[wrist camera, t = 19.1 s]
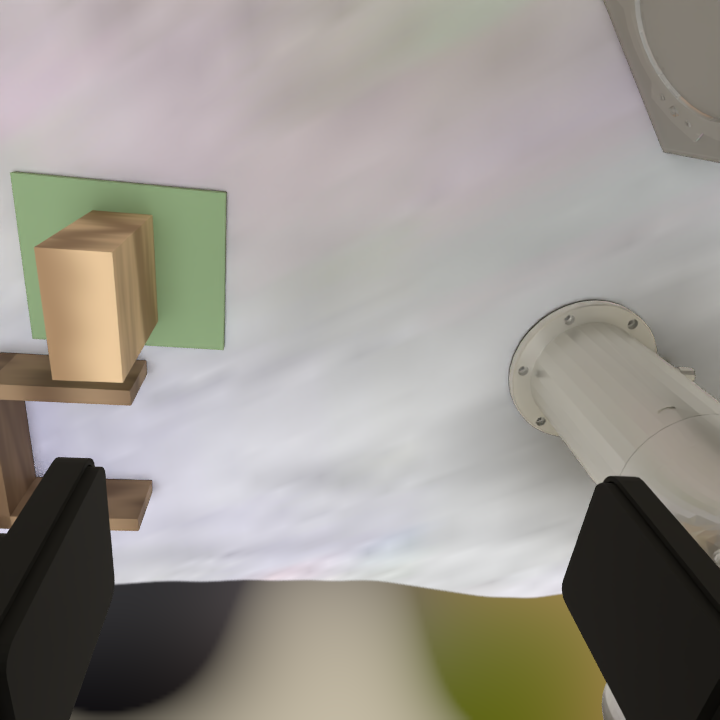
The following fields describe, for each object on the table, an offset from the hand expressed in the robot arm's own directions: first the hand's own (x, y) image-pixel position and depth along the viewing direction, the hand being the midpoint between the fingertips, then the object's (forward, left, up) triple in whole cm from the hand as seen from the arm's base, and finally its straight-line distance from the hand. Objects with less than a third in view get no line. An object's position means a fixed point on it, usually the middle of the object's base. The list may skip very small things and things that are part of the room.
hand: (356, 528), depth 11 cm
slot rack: (+17, +20, -34) cm, 43 cm away
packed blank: (+13, +6, -34) cm, 37 cm away
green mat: (+13, +6, -34) cm, 37 cm away
